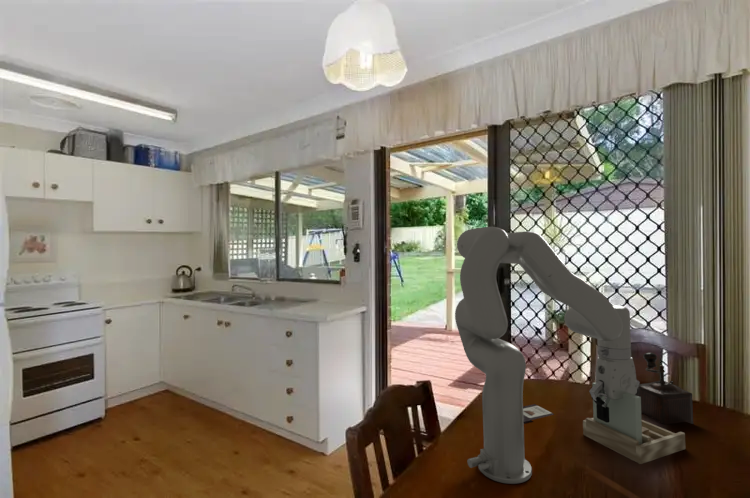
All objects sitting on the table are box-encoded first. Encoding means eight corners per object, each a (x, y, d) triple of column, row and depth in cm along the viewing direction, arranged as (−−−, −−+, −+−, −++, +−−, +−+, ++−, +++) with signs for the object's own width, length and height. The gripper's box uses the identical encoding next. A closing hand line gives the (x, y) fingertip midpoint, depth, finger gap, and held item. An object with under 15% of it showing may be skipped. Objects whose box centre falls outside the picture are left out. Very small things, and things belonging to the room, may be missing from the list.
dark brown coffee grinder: (697, 424, 113) (695, 364, 113) (663, 428, 111) (661, 367, 111) (652, 403, 128) (650, 350, 128) (622, 406, 127) (621, 352, 126)
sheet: (637, 458, 94) (635, 398, 94) (594, 436, 106) (592, 382, 106) (642, 456, 95) (640, 397, 95) (599, 435, 106) (597, 381, 106)
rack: (640, 468, 92) (639, 443, 92) (583, 438, 107) (582, 416, 107) (685, 452, 98) (684, 429, 98) (625, 426, 113) (624, 406, 113)
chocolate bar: (490, 413, 123) (534, 404, 129) (490, 416, 123) (534, 406, 129) (509, 425, 115) (555, 414, 121) (509, 428, 115) (555, 417, 121)
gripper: (603, 360, 94) (605, 429, 94) (650, 351, 100) (652, 416, 100) (577, 353, 101) (579, 417, 101) (623, 345, 107) (625, 405, 107)
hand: (616, 416), depth 100 cm, fingers open, 9 cm apart
